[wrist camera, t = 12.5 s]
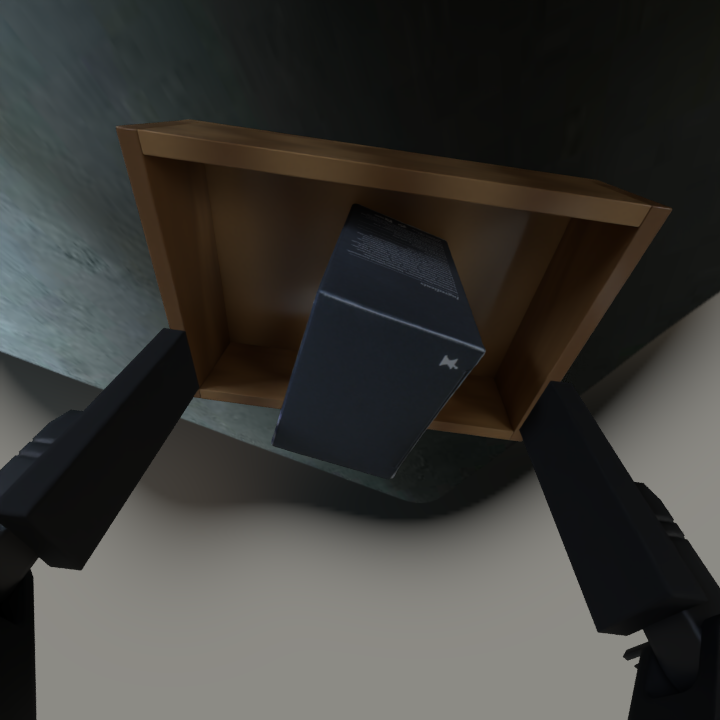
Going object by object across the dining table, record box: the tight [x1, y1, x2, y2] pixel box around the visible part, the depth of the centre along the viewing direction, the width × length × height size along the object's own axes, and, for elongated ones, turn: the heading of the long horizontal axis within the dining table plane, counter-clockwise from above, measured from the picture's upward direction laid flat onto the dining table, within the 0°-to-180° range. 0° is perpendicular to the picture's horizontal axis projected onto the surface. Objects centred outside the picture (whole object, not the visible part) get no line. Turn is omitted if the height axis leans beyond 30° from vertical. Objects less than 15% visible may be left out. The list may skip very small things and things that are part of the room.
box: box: [271, 204, 486, 479], centre depth 16 cm, size 8×6×11 cm
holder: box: [116, 120, 672, 441], centre depth 19 cm, size 21×14×6 cm, turn 83°
